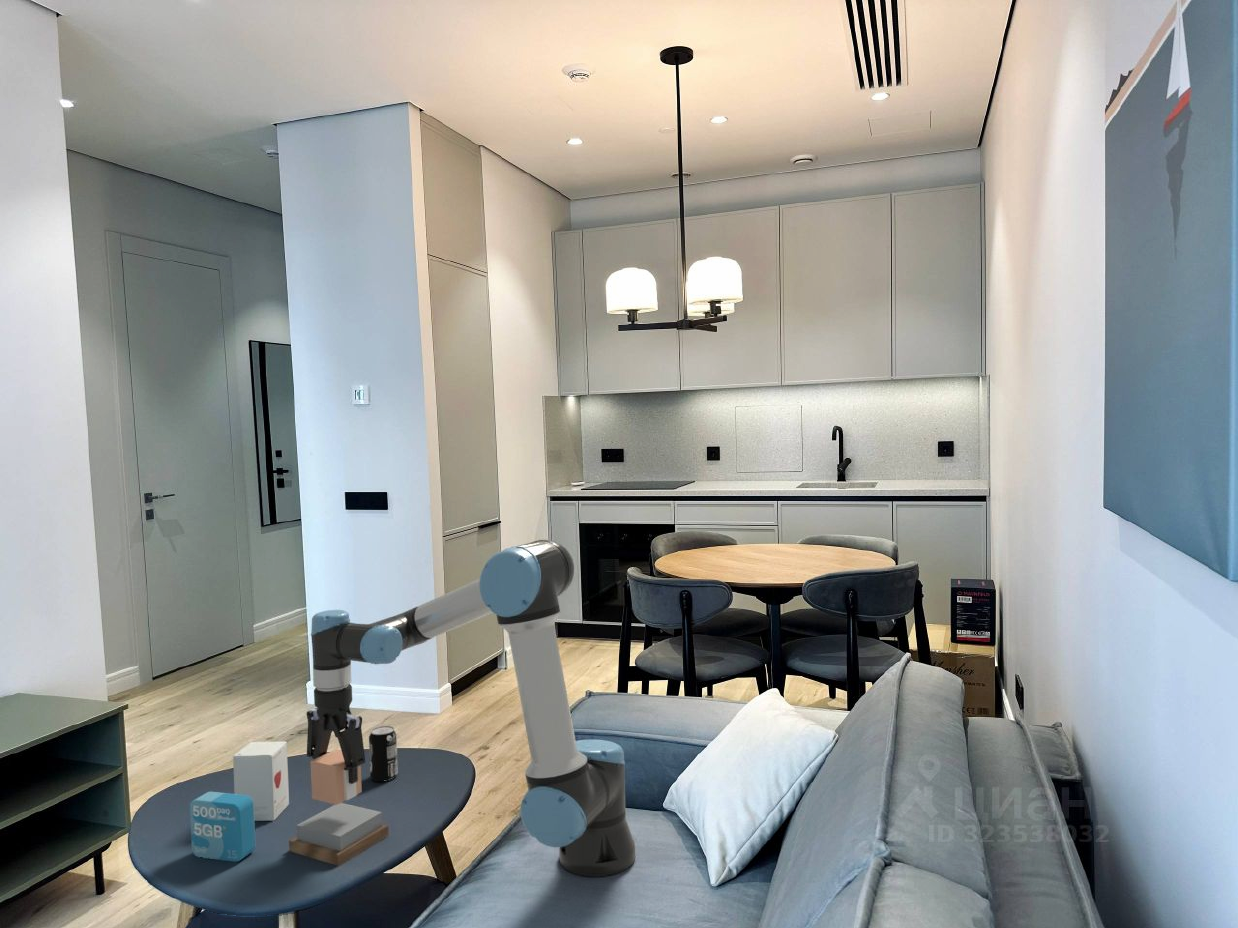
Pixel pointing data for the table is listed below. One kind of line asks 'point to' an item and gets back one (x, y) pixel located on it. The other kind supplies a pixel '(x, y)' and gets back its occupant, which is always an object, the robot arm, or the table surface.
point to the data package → (222, 826)
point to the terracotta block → (330, 778)
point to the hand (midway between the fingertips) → (337, 793)
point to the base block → (335, 855)
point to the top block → (339, 826)
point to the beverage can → (383, 753)
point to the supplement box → (263, 777)
